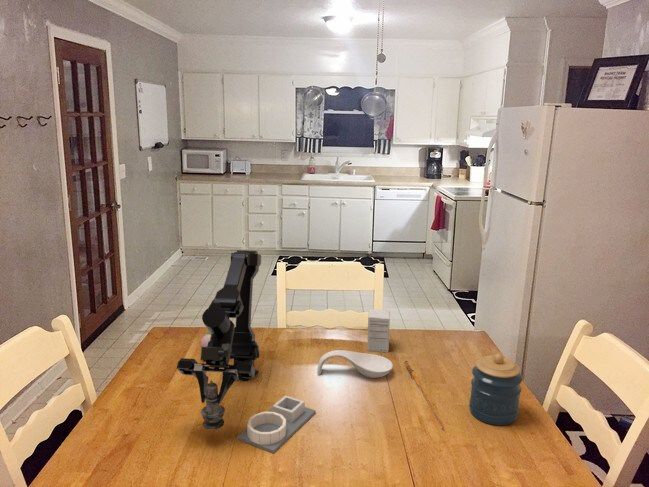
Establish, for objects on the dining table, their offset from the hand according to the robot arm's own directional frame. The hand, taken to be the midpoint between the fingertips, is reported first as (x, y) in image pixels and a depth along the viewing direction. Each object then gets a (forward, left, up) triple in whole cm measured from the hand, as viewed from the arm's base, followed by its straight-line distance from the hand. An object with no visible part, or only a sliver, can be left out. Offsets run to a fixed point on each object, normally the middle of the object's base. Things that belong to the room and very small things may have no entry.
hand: (210, 403), depth 128 cm
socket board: (-14, +10, -11) cm, 21 cm away
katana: (-48, +37, -12) cm, 62 cm away
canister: (-49, +57, -11) cm, 77 cm away
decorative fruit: (-35, -30, -11) cm, 47 cm away
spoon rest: (-50, +15, -12) cm, 53 cm away
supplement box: (-70, +13, -11) cm, 72 cm away
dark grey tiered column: (-1, -1, -7) cm, 7 cm away
